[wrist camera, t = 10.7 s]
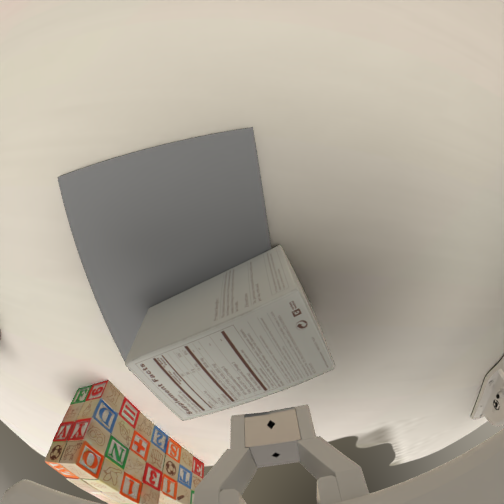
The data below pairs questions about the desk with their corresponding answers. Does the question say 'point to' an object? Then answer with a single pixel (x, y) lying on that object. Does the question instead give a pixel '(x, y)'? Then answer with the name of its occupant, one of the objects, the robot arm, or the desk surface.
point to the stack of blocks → (121, 452)
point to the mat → (165, 222)
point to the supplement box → (230, 339)
